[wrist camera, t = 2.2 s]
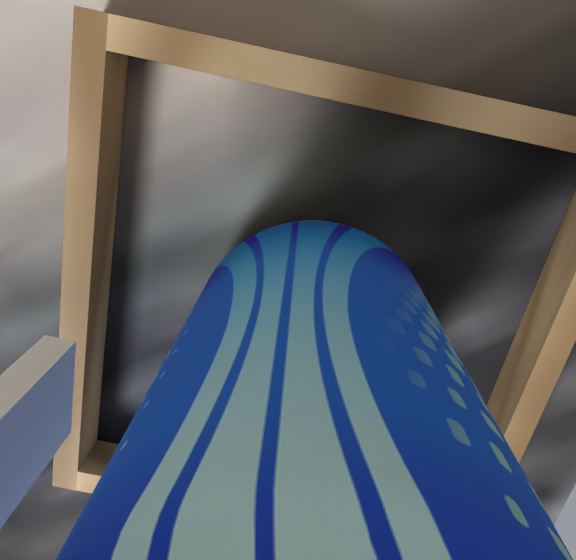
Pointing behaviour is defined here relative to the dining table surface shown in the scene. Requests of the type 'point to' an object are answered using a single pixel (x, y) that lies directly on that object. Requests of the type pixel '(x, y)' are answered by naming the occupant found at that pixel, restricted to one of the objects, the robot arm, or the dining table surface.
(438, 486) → the beer can
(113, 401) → the dining table surface
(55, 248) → the dining table surface
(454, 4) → the dining table surface
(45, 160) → the dining table surface
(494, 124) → the oak frame
